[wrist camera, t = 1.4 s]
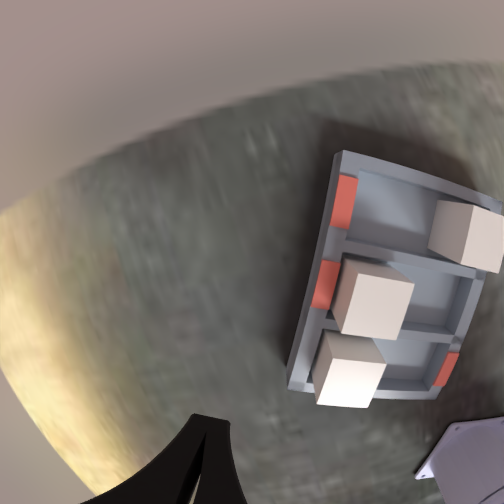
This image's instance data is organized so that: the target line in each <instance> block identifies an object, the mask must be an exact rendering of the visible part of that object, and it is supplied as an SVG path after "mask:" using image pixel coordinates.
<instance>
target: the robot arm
mask: <svg viewBox="0 0 504 504" xmlns="http://www.w3.org/2000/svg"><path fill="white" fill-rule="evenodd" d="M200 474H201V475H200ZM199 476H200V481H199V485H198V488H197V492H196V496H195V499H194V503H193V504H247V502H246V499H245V497H244V494H243V492H242V489H241V486H240V483H239V480H238V476H237V473H236V469H235V465H234V460H233V456H232V450H231V443H230V422H229V421H228V420H223V419H218V418H213V417H208V416H204V415H199V414H195V413H194V414H192V415H191V416H190V418H189V420H188V421H187V423H186V424H185V425H184V427H183V428H182V429H181V431H180V432H179V433H178V434H177V436H176V437H175V438H174V439H173V440H172V441H171V442H170V443H169V444H168V445H167V446H166V448H165V449H164V450H163V451H162V452H161V453H159V454H158V455H157V456H156V457H155V458H154V459H153V460H152V461H151V462H150V463H148V464H147V465H146V466H145V467H144V468H142V469H141V470H140V471H138V472H137V473H136V474H134V475H133V476H132V477H130V478H129V479H127V480H126V481H124V482H122V483H121V484H119V485H118V486H116V487H114V488H112V489H111V490H109V491H107V492H105V493H103V494H101V495H99V496H97V497H94V498H93V499H90V500H88V501H85V502H83V503H80V504H189V503H190V500H191V498H192V495H193V492H194V490H195V487H196V484H197V482H198V479H199ZM414 477H415V479H423V478H430V477H435V480H436V482H437V484H438V487H439V489H440V491H441V494H442V496H443V498H444V501H445V503H446V504H504V417H498V418H491V419H484V420H476V421H468V422H458V423H452V424H451V425H450V426H449V427H448V428H447V430H446V432H445V433H444V435H443V436H442V438H441V439H440V441H439V442H438V444H437V445H436V447H435V448H434V449H433V451H432V452H431V454H430V455H429V457H428V458H427V459H426V461H425V462H424V463H423V465H422V466H421V467H420V469H419V470H418V471H417V473H416V474H415V476H414Z"/></svg>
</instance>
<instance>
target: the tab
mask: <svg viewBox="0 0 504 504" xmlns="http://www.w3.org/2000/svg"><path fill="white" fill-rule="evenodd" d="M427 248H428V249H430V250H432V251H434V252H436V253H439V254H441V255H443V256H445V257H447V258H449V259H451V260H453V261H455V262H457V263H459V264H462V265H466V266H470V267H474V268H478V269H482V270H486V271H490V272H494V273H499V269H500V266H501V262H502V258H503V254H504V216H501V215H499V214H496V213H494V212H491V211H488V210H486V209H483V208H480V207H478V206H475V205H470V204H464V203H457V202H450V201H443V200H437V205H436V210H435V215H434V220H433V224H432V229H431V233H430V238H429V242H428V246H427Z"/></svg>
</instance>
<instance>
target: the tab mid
mask: <svg viewBox="0 0 504 504" xmlns="http://www.w3.org/2000/svg"><path fill="white" fill-rule="evenodd" d="M340 263H341V265H340V269H339V273H338V277H337V281H336V285H335V289H334V292H333V296H332V300H331V304H330V308H331V311H332V313H333V315H334V318H335V320H336V322H337V325H338V327H339V330H340V332H341V333H342V334H349V335H356V336H364V337H371V338H379V339H388V340H396V339H397V336H398V334H399V331H400V328H401V325H402V322H403V320H404V317H405V314H406V311H407V308H408V305H409V301H410V298H411V295H412V292H413V289H414V285H415V284H414V283H413V282H412V281H410V280H409V279H408V278H407V277H405V276H404V275H403V274H401V273H400V272H399V271H397V270H396V269H395V268H393V267H392V266H391V265H389V264H388V263H384V262H379V261H374V260H369V259H364V258H359V257H354V256H349V255H344V254H342V256H341V261H340Z"/></svg>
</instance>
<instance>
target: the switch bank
mask: <svg viewBox="0 0 504 504" xmlns="http://www.w3.org/2000/svg"><path fill="white" fill-rule="evenodd" d="M437 200H443V201H450V202H457V203H464V204H470V205H475V206H478V207H480V208H483V209H486V210H488V211H491V212H494V213H496V214H499V215H500V214H501V208H502V202H501V201H499V200H497V199H494V198H492V197H489V196H487V195H484V194H482V193H479V192H477V191H474V190H472V189H469V188H466V187H464V186H461V185H458V184H456V183H453V182H450V181H447V180H444V179H442V178H439V177H436V176H433V175H430V174H427V173H424V172H421V171H417V170H414V169H411V168H408V167H405V166H401V165H398V164H395V163H391V162H388V161H384V160H381V159H377V158H373V157H370V156H366V155H362V154H358V153H354V152H350V151H346V150H342V151H340V152H338V153H336V154H334V159H333V164H332V170H331V175H330V181H329V186H328V191H327V197H326V202H325V207H324V212H323V217H322V222H321V226H320V231H319V236H318V241H317V245H316V250H315V254H314V259H313V263H312V268H311V272H310V276H309V281H308V285H307V289H306V293H305V297H304V302H303V306H302V310H301V314H300V318H299V322H298V325H297V329H296V333H295V337H294V341H293V345H292V348H291V352H290V356H289V359H288V363H287V367H286V376H287V389H288V390H295V391H303V392H311V393H315V391H314V385H313V379H312V373H311V365H312V362H313V359H314V356H315V352H316V349H317V346H318V342H319V339H320V336H321V332H322V329H323V328H324V329H331V330H338V331H340V330H339V327H338V325H337V322H336V320H335V318H334V315H333V313H332V311H331V308H330V304H331V300H332V296H333V292H334V289H335V285H336V281H337V277H338V273H339V269H340V265H341V263H340V261H341V256H342V254H344V255H349V256H354V257H359V258H364V259H369V260H374V261H379V262H384V263H388V264H389V265H391V266H392V267H393V268H395V269H396V270H397V271H399V272H400V273H401V274H403V275H404V276H405V277H407V278H408V279H409V280H410V281H412V282H413V283H414V284H415V285H414V289H413V292H412V295H411V298H410V301H409V305H408V308H407V311H406V314H405V317H404V320H403V322H402V325H401V328H400V331H399V334H398V336H397V339H396V340H388V339H379V338H372V339H373V341H374V343H375V344H376V346H377V348H378V349H379V351H380V353H381V355H382V356H383V358H384V360H385V362H386V363H387V365H386V367H385V370H384V372H383V374H382V377H381V379H380V381H379V384H378V386H377V388H376V390H375V393H374V395H373V397H372V398H384V399H436V398H437V396H438V394H439V392H440V390H441V388H442V386H445V384H446V382H447V380H448V378H449V376H450V374H451V372H452V370H453V367H454V365H455V363H456V361H457V359H458V356H459V353H458V352H459V350H460V347H461V345H462V343H463V340H464V338H465V335H466V333H467V330H468V328H469V325H470V322H471V320H472V317H473V314H474V311H475V308H476V306H477V303H478V300H479V297H480V293H481V290H482V287H483V284H484V281H485V277H486V274H487V271H486V270H482V269H478V268H474V267H470V266H466V265H462V264H459V263H457V262H455V261H453V260H451V259H449V258H447V257H445V256H443V255H441V254H439V253H436V252H434V251H432V250H430V249H428V248H427V246H428V242H429V238H430V233H431V229H432V224H433V220H434V215H435V210H436V205H437Z"/></svg>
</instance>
